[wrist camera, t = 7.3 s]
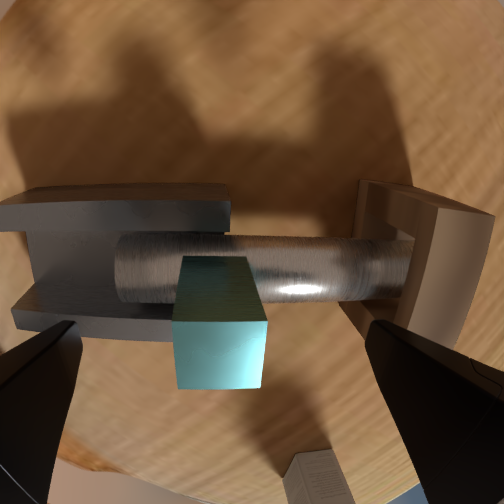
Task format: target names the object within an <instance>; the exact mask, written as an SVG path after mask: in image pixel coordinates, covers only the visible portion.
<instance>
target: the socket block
mask: <svg viewBox="0 0 504 504" xmlns="http://www.w3.org/2000/svg"><path fill="white" fill-rule="evenodd" d="M494 221H495V216H493V215H491V214H489V213H486V212H484V211H481V210H479V209H476V208H473V207H471V206H468V205H465V204H463V203H460V202H457V201H455V200H452V199H449V198H446V197H443V196H441V195H438V194H435V193H432V192H429V191H426V190H423V189H420V188H417V187H414V186H407V185H400V184H393V183H386V182H379V181H371V180H363V179H360V181H359V189H358V197H357V204H356V211H355V218H354V225H353V231H352V237H351V238H362V239H389V240H413V241H415V242H414V247H413V251H412V256H411V260H410V264H409V268H408V272H407V276H406V280H405V284H404V288H403V291H402V295H401V298H389V299H373V300H355V301H340V302H339V306H340V307H341V308H342V310H343V311H344V312H345V314H346V315H347V316H348V318H349V319H350V321H351V322H352V323H353V325H354V326H355V327H356V329H357V330H358V332H359V333H360V334H361V336H362V337H363V338H364V340H365V339H366V336H367V332H368V329H369V326H370V323H371V321H372V320H376V319H385V320H387V321H390V322H392V323H394V324H396V325H398V326H401V327H403V328H405V329H407V330H409V331H412V332H414V333H416V334H418V335H420V336H423V337H425V338H427V339H429V340H432V341H434V342H436V343H438V344H440V345H443V346H445V347H447V348H449V349H451V350H453V348H454V346H455V344H456V341H457V339H458V337H459V334H460V332H461V329H462V327H463V324H464V322H465V319H466V317H467V314H468V311H469V309H470V306H471V303H472V300H473V297H474V294H475V291H476V288H477V285H478V282H479V279H480V276H481V272H482V269H483V265H484V262H485V258H486V254H487V251H488V247H489V243H490V239H491V234H492V230H493V225H494Z"/></svg>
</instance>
